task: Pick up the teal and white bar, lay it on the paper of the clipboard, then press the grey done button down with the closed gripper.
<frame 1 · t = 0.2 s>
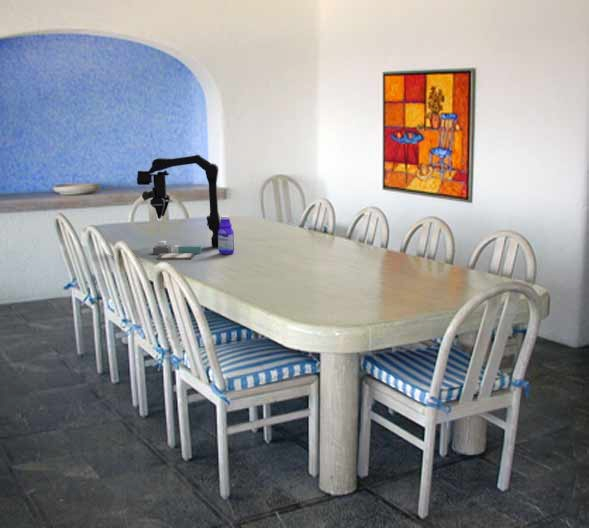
hand: (161, 217, 370), 14 cm above the table, fingers open, 9 cm apart
bottle: (226, 253, 355), on the table
clipboard: (175, 257, 348), on the table
teal and white bar: (189, 253, 356), on the table
button: (161, 244, 357), point 4 cm above the table, slide at 0.0 cm
button base: (162, 252, 357), on the table
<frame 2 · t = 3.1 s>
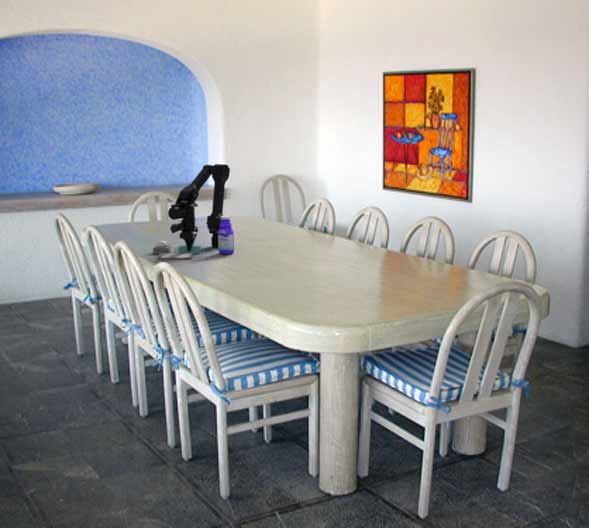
hand: (189, 250, 356), 1 cm above the table, fingers closed on teal and white bar, 3 cm apart
teal and white bar: (189, 253, 356), on the table, touching gripper
everything else where it was.
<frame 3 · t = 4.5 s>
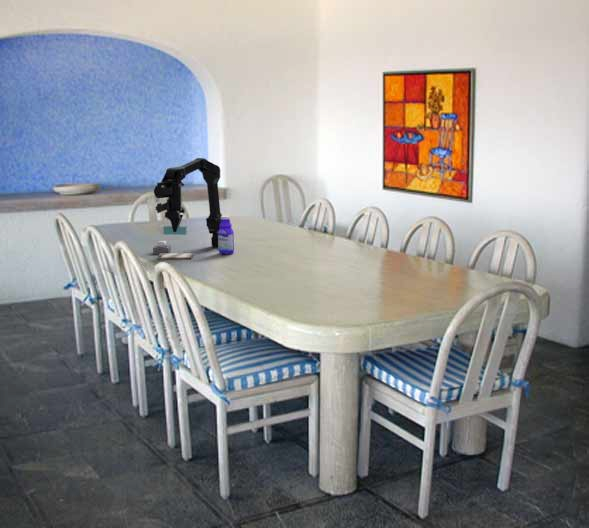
hand: (175, 231, 346), 12 cm above the table, fingers closed on teal and white bar, 3 cm apart
teal and white bar: (175, 234, 346), point 10 cm above the table, touching gripper
everything else where it was.
when the fingers open (2 cm above the table, at t = 6.2 s): teal and white bar stays where it is, resting on clipboard.
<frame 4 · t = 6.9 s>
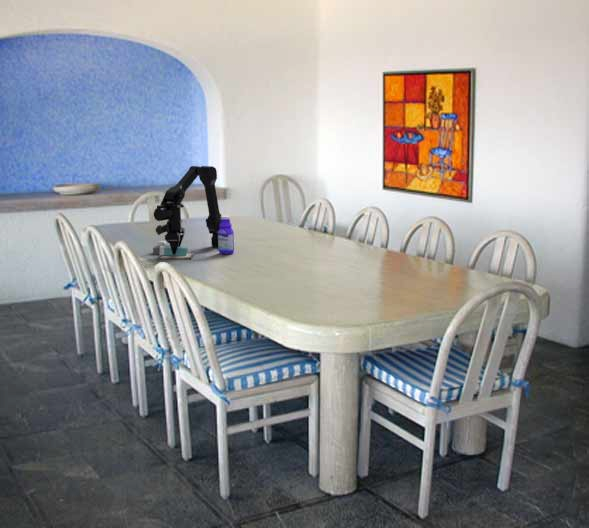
hand: (175, 252, 347), 2 cm above the table, fingers open, 9 cm apart
teal and white bar: (175, 254, 347), point 1 cm above the table, touching clipboard
everything else where it was.
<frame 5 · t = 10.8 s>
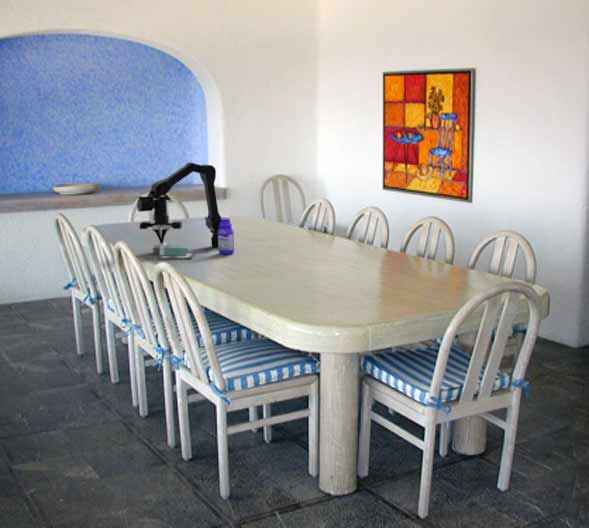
hand: (161, 243, 357), 4 cm above the table, fingers closed, pressing on button
button: (161, 246, 357), point 3 cm above the table, slide at 0.9 cm, touching gripper
everything else where it was.
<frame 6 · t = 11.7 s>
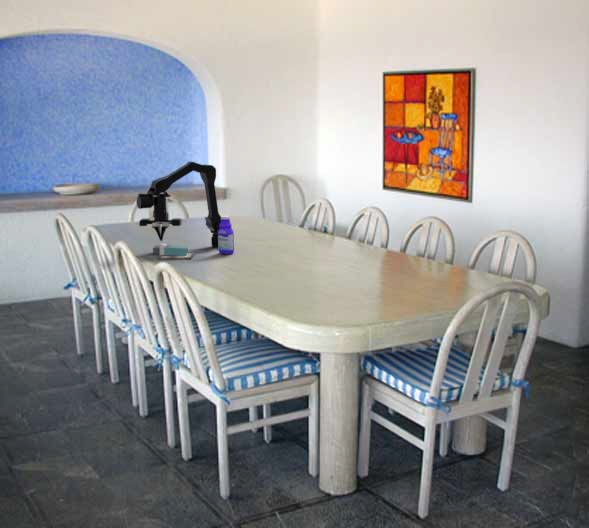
hand: (161, 240, 356), 6 cm above the table, fingers closed
button: (161, 247, 357), point 3 cm above the table, slide at 1.2 cm
everything else where it was.
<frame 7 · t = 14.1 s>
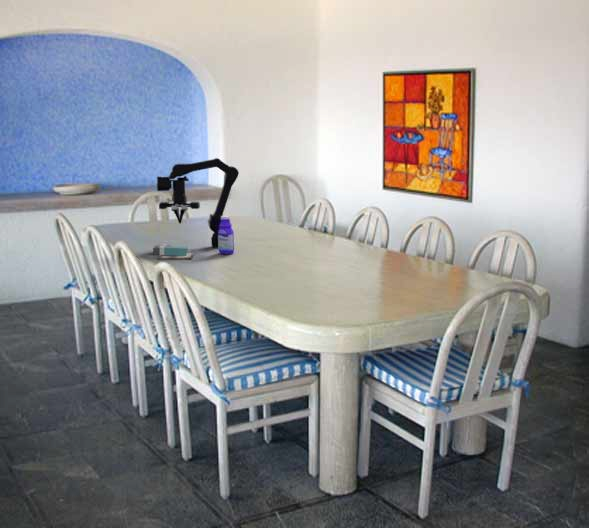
hand: (180, 223, 367), 12 cm above the table, fingers closed
nothing on the table moved.
at the end: teal and white bar inside the target area on the clipboard (0.1 cm from its centre), point 1.0 cm above the clipboard's base; button slide at 1.2 cm; the gripper is holding nothing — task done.
